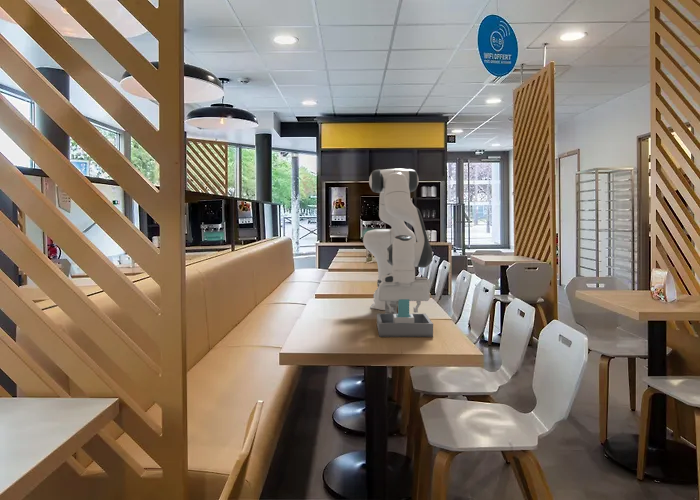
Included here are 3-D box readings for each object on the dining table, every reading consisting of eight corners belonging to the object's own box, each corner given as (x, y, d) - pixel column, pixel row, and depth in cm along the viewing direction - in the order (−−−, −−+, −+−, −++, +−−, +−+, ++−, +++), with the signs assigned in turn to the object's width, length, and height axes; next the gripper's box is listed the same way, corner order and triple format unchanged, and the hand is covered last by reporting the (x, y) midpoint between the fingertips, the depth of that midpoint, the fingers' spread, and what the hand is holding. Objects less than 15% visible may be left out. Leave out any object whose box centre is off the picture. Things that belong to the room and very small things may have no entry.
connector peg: (397, 327, 195) (398, 297, 194) (408, 327, 195) (408, 297, 194) (398, 330, 191) (398, 299, 190) (409, 330, 191) (409, 299, 190)
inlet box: (376, 325, 203) (376, 311, 202) (425, 325, 203) (425, 311, 202) (379, 337, 183) (379, 321, 182) (433, 337, 183) (433, 321, 182)
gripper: (429, 276, 194) (428, 310, 195) (377, 276, 195) (377, 310, 196) (431, 278, 188) (431, 313, 189) (378, 278, 188) (378, 313, 189)
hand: (403, 312), depth 192 cm, fingers open, 8 cm apart
